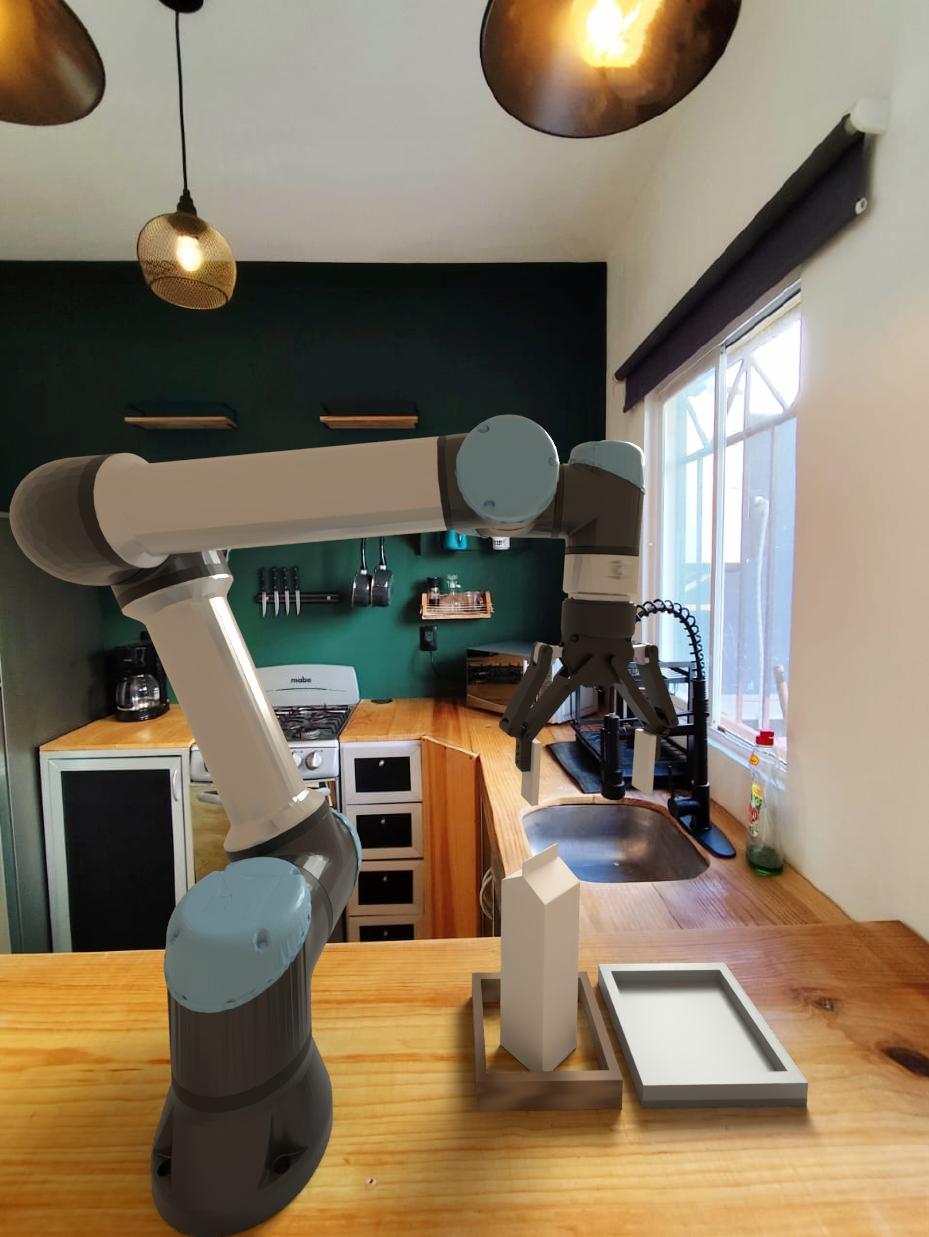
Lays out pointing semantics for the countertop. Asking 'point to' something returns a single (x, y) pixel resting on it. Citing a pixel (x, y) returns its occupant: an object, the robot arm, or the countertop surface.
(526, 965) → the milk
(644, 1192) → the countertop surface
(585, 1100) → the frame
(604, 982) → the tray
